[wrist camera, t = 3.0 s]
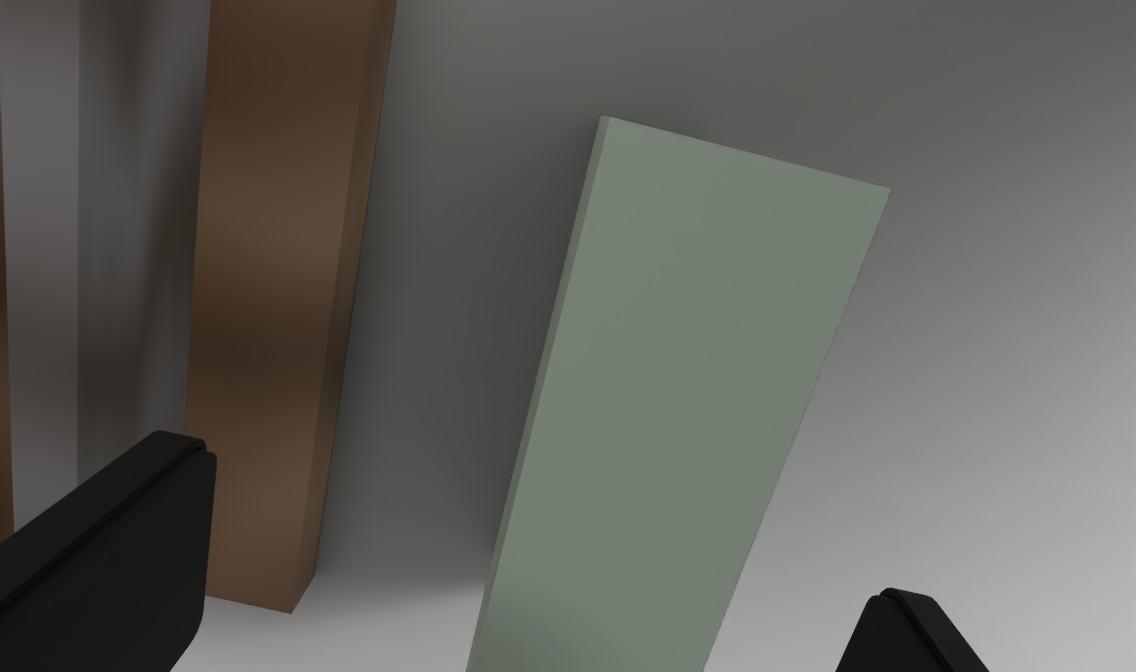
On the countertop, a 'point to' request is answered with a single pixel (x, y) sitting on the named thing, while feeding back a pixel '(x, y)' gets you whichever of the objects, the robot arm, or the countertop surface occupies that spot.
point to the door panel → (666, 399)
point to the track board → (185, 253)
